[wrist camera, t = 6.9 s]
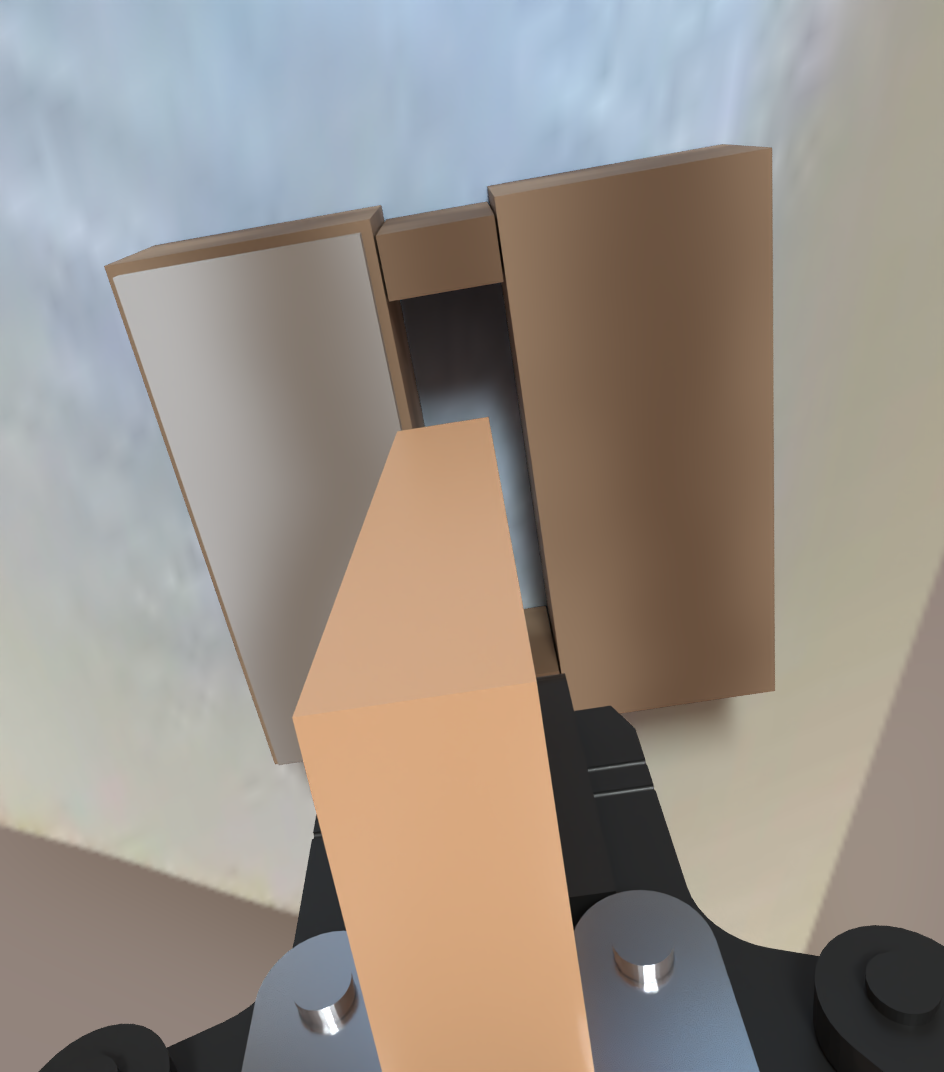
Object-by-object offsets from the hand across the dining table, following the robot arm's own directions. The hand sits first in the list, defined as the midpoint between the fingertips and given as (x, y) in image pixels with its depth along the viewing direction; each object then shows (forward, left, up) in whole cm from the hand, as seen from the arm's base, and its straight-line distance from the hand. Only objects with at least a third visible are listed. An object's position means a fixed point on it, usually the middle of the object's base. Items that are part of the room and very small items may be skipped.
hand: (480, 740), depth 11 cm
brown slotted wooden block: (0, 0, -10) cm, 10 cm away
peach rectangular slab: (0, -1, -4) cm, 4 cm away
